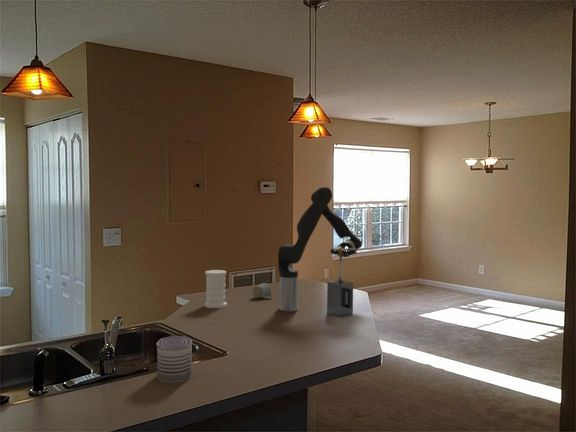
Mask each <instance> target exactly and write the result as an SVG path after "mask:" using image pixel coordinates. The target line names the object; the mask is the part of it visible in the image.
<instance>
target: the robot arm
mask: <svg viewBox="0 0 576 432" xmlns="http://www.w3.org/2000/svg"><path fill="white" fill-rule="evenodd" d="M332 198H333V192H332V190H331V188H329V187H327V186H322V187H318V189H316V190H315V191H314V192H313V193H312V194H311V196H310V200H311V202H312V203H311V205H310V206H309V207H307V209H306V210H305V212H303V214H302V215H301V217H300V218H299V221H298V222H297V225H296V232H297V237H298V238H297V240H296V242H295V244H294V245H293V244H282V245H281V246H280V247H279V249H278V252H277V257H278V258H277V259H278V260H277V262H278V273H279V290H278V303H277V304H278V310H280V312H281V311H282V312H286V313H287V312H296V311H298V309H299V308H298V303H299V301H298V300H299V299H298V296H299V293H298V291H299V290H298V289H299V287H298V286H299V272H298V270H297V269H295V268H294V267H293V266H292V265H291V264H293V265H294V264H298V263H299V262H300V260H301V258H302V257H303V255H304V252H305V250H306V247H307V245H308V242H309V240H310V239H311V236H312V234H313V233H314V232H315V231H314V230H315V229H316V227H317V226H318V223H319V221H320V219H321V217H322V216H323V217H324V218H325V219H326V220H327V221H328V222H329V224H330V225H331V227H332V228H333V230H334V231H335V233H336V235H337V236H338V238H339V239H344V238H346V237H347V238H349V239H347V240H346V241H343V242H340V244H339V245H338V246H337V247H336V248H335V247H333V246H332V247H330V253H331V254H332V255H334V256H337V249H345V250H344V255H345V256H342V258H347V257H350V256H352V255H356V254H357V250H359V249H360V248H361V247H362V246H363V245H362V241H361V239H360V238H359V237H357V235H355V234H354V233H353V232H352V231H351V229H349V227H348V225H347V224H346V222H345V221H344V219H343V218H342V217H340V216H339V215H337V214H336V213H335V212H334V211H332V210H331V208H330V207H329V205H328V204H329V203H330V202H331V200H332Z"/></svg>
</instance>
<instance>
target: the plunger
mask: <svg viewBox="0 0 576 432" xmlns="http://www.w3.org/2000/svg"><path fill="white" fill-rule="evenodd" d="M344 250H345V249H337V254H336V256H339V259H338V260H339V263H338V264H339V269H338V271H339V272H338V276H339V277H338V280H339V283H342V280H343V279H342V278H343V276H342V275H343V273H342V272H343V271H342V270H343V257H342V256H345V255H344Z"/></svg>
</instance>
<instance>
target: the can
mask: <svg viewBox="0 0 576 432" xmlns="http://www.w3.org/2000/svg"><path fill="white" fill-rule="evenodd" d="M193 341H194V340H192V339H191V338H189V337H188V336H184V335H182V336H181V335H169V336H166V337H162V338H160V339H159V340H157V342H156V343H155V344H156V352H157V353H156V354H157V355H156V359H157V361H156V362H157V363H156V371H157V373H156V374H157V375H156V376H157V377H156V378H157V380H159V381H160V382H161V383H169V384H173V383H182V382H185V381H187V380H190V379H191V377H192V375H193V372H192V371H193V366H192V365H193V356H192V355H193V349H192V346H193V345H192V343H193Z"/></svg>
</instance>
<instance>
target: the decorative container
mask: <svg viewBox="0 0 576 432" xmlns="http://www.w3.org/2000/svg"><path fill="white" fill-rule="evenodd" d="M204 273H205V274H204V275H206V278H205V280H206V283H205V284H206V285H205V287H206V290H205V293H206V296H205V299H206V302H204V307H205V308H207V309H220V308H221V309H222V308H225V307H227V306H228V303H227V301H226V286H227V285H226V282H225V281H226V275H227V270H222V269H211V270H206V271H205V272H204Z"/></svg>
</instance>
